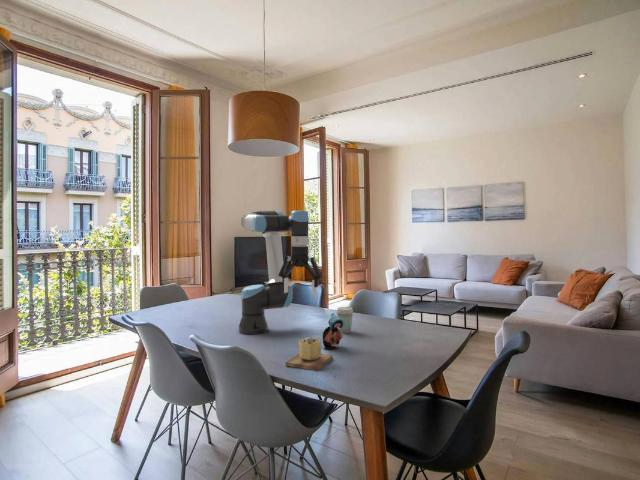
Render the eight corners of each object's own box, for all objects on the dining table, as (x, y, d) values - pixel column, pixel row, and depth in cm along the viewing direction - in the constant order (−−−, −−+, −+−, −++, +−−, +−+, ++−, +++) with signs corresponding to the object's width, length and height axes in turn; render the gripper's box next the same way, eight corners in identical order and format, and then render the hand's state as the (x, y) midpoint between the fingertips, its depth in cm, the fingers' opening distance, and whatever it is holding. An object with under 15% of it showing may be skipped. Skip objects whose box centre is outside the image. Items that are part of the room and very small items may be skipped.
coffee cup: (352, 334, 185) (352, 310, 185) (335, 333, 187) (335, 309, 186) (354, 329, 193) (354, 306, 193) (338, 329, 195) (337, 306, 195)
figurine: (332, 352, 158) (331, 317, 157) (319, 349, 162) (319, 314, 162) (346, 346, 165) (346, 313, 165) (334, 343, 170) (334, 311, 170)
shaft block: (285, 366, 142) (285, 341, 142) (300, 354, 155) (300, 332, 155) (320, 370, 137) (319, 345, 137) (332, 358, 150) (332, 335, 150)
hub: (296, 358, 144) (296, 342, 144) (304, 351, 151) (304, 337, 151) (315, 360, 141) (315, 344, 141) (323, 353, 148) (322, 338, 148)
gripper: (270, 245, 165) (271, 293, 166) (323, 247, 156) (323, 297, 157) (278, 244, 172) (279, 290, 173) (329, 245, 163) (329, 294, 164)
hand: (300, 293), depth 165 cm, fingers open, 13 cm apart
